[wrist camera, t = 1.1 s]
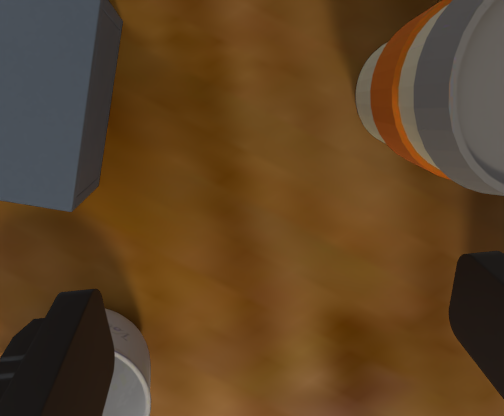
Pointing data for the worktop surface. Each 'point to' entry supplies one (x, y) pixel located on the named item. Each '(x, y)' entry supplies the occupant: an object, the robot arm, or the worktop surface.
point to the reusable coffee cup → (442, 93)
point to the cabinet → (55, 98)
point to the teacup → (128, 370)
